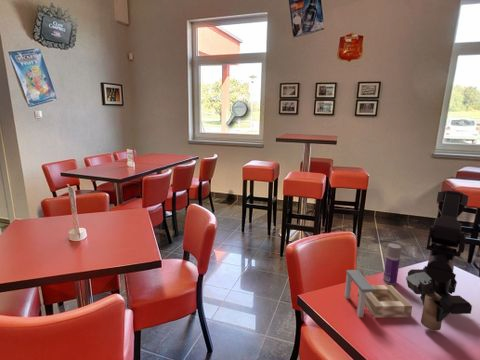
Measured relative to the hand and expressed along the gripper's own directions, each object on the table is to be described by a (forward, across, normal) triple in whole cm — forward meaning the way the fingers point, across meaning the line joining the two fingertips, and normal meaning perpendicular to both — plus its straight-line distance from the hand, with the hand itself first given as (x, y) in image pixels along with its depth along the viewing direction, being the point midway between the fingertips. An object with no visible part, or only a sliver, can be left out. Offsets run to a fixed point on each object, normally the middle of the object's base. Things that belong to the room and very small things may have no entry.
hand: (432, 315), depth 86 cm
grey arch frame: (+5, -12, -17) cm, 21 cm away
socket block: (+5, -12, -8) cm, 15 cm away
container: (+5, -27, +3) cm, 28 cm away
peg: (+3, 0, 0) cm, 3 cm away
